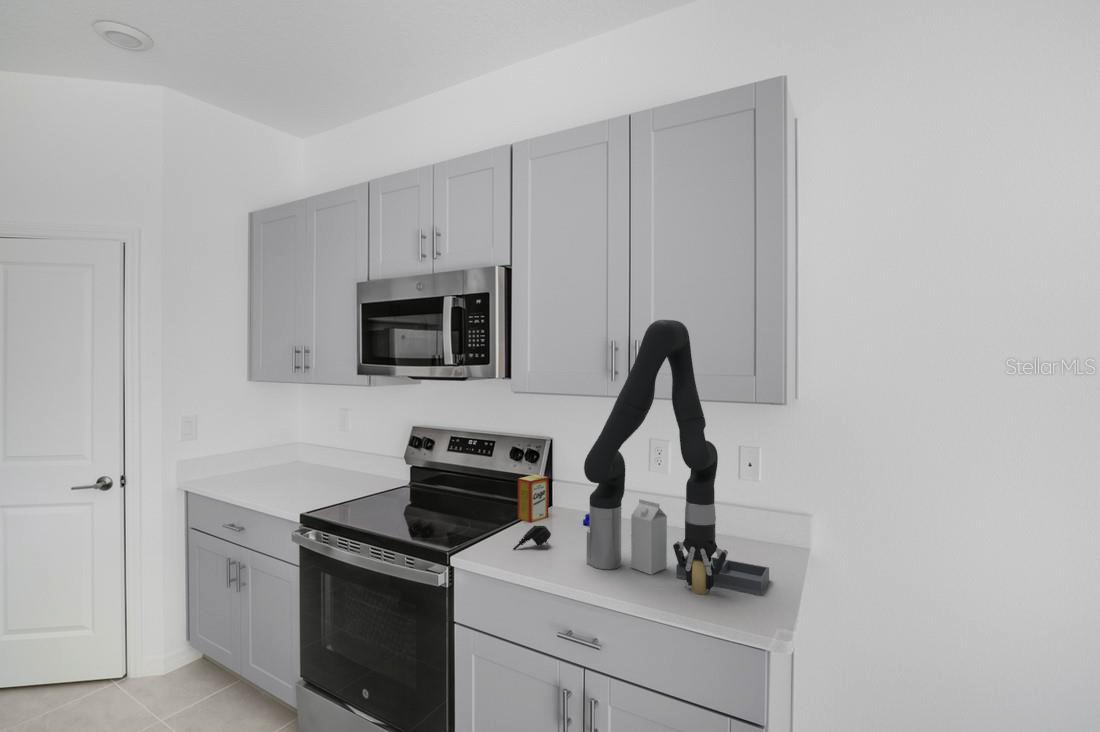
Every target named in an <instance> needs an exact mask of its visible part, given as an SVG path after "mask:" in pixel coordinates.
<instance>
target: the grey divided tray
mask: <svg viewBox="0 0 1100 732" xmlns="http://www.w3.org/2000/svg"><path fill="white" fill-rule="evenodd" d="M688 556H689V554H688V553H687V554H686V555H684V557H685V560H686V562H687V560H688ZM712 560H713V567H714V568H716V565H717V562H718V560H719V558H718V557H714V556H712ZM675 574H676V575H675V576H676V577H675V578H677V579H680V580H686V569H685V568H683V567H680V566H679V564H678V563H677V564H676V573H675ZM713 581H714V584H713V586H714V587H717V588H718V587H719V588H722V589H727V590H733V591H737V592H742V593H747V594H752V595H755V596H756V595H757V596H759V597H760V596H762V595H763V594H764V591H765V589H766V588H767V585H768V584H769V582H770V567H767V566H762V565H757V564H752V563H745V562H740V561H737V560H736V561H735V560H730V559H725V562H724V564H723V567H722V570H721V571H720V572H719V574H718V575H716V574H714V580H713ZM713 586H712V587H713Z"/></svg>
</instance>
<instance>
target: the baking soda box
mask: <svg viewBox="0 0 1100 732" xmlns="http://www.w3.org/2000/svg"><path fill="white" fill-rule="evenodd" d="M518 518H519V519H521V520H520V521H523V522H525V523H529V524H531V523H534V522H538V521H542V520H545V519H548V518H549V476H545V475H540V474H533V475H527V476H524V477H519V478H517V519H518ZM519 519H518V520H519Z"/></svg>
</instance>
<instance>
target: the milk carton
mask: <svg viewBox="0 0 1100 732" xmlns="http://www.w3.org/2000/svg"><path fill="white" fill-rule="evenodd" d="M630 523H631V524H630V525H631V531H630V532H631V533H630V536H631V538H630V539H631V547H630V549H631V557H630V559H631V560H630V562H631V565H630V566H631V568H632V569H635V570H638V571H640V572H642V573H645V574H648V575H654V574H656V573H658V572H660V571H661V572H662V571H663V570H666V569H667V568H668V567H667V562H668V561H667V560H668V559H667V557H668V556H667V552H668V550H667V547H668V545H667V541H668V539H667V538H668V536H667V535H668V533H667V532H668V529H667V528H668V527H667V526H668V525H667V524H668V515H667V514H666V513H665V512H664V511H663V510H662V508H660V503H657V502H654V501H649V500H644V499H638V503H637V505H636V507H635V509H634V510H633V512H632V513H631V522H630Z"/></svg>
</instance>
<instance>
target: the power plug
mask: <svg viewBox="0 0 1100 732" xmlns="http://www.w3.org/2000/svg"><path fill="white" fill-rule="evenodd" d="M551 536H552V533H551V531H550V530H549V529H548V528H547V527H546V526H545V525H534V526H532V527H531V528H530V529H529V530H528V531H527V532H526V533H525V534H524V535H523V536H522V537H521V539H520V540H519V541H518V544H516V545H515V546H514V547H513V548H512V549H513V551H515V550H517V548H519V547H520V546H523V545H524V544H526V543H527V542H528V541H530V540H532V541H533V542H534V543H535V544H536V546H542V545H543V544H546V545H547V547H549V548H550V547H551V544H550V542H549V541H548V540H549V539H550V538H551Z"/></svg>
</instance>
